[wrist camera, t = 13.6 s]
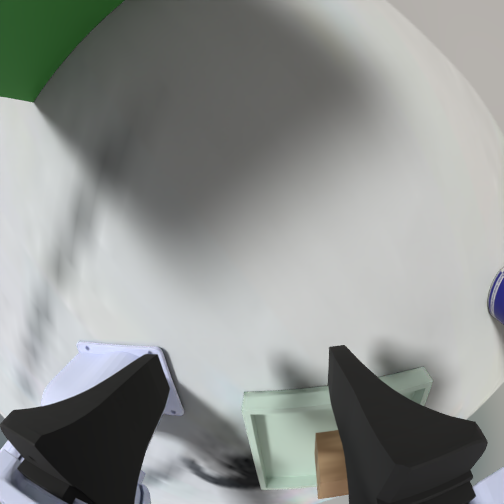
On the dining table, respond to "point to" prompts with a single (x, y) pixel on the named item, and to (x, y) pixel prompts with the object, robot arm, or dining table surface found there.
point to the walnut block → (330, 465)
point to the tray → (303, 427)
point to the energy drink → (497, 297)
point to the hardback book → (42, 39)
